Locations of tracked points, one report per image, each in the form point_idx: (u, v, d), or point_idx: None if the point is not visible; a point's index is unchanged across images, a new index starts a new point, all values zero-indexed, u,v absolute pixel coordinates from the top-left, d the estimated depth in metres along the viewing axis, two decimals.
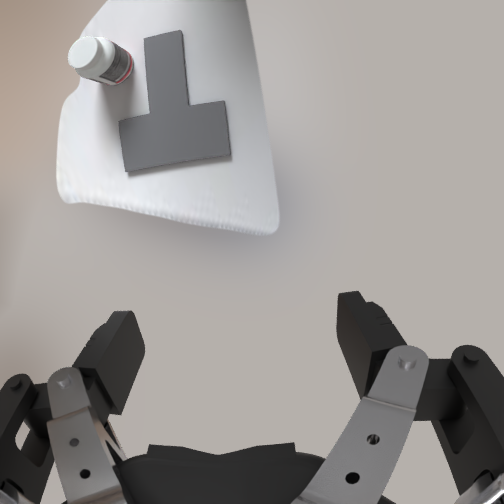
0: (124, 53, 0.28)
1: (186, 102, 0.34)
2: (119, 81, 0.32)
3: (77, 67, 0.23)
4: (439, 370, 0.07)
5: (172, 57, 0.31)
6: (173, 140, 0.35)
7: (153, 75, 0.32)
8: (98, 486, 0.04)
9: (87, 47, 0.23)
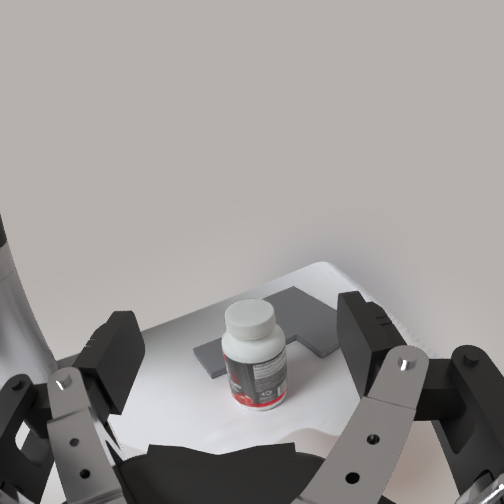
0: None
1: None
2: None
3: (272, 307, 0.24)
4: (439, 370, 0.07)
5: None
6: (308, 311, 0.38)
7: None
8: (98, 486, 0.04)
9: (241, 308, 0.24)
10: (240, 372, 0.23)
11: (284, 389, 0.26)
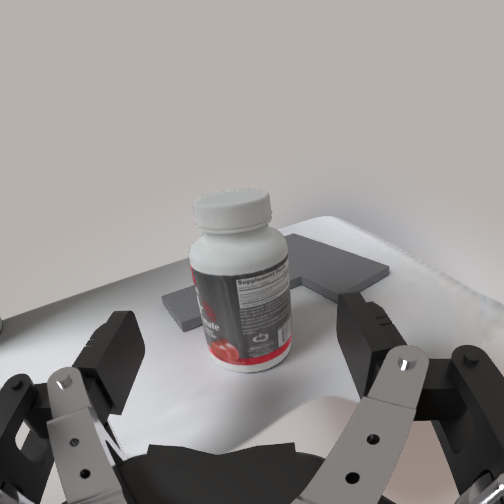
0: None
1: None
2: None
3: (265, 192, 0.16)
4: (439, 370, 0.07)
5: None
6: (314, 254, 0.30)
7: None
8: (98, 486, 0.04)
9: (219, 195, 0.16)
10: (217, 295, 0.15)
11: (288, 337, 0.17)
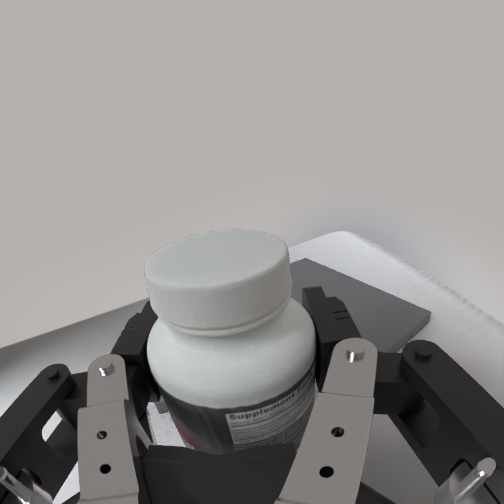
0: None
1: None
2: None
3: (280, 241, 0.08)
4: (391, 364, 0.07)
5: None
6: (335, 292, 0.23)
7: None
8: (116, 483, 0.04)
9: (195, 246, 0.09)
10: (194, 425, 0.08)
11: None
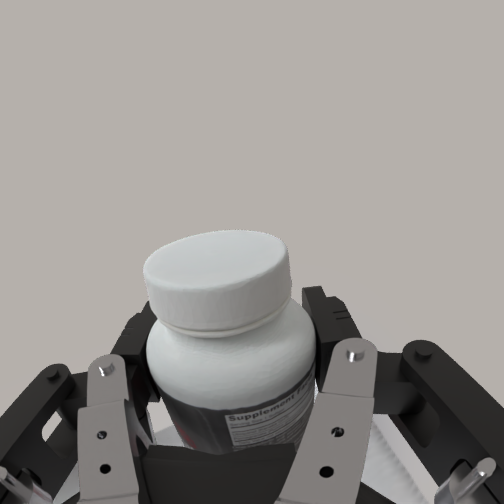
0: None
1: None
2: None
3: (280, 242, 0.08)
4: (391, 364, 0.07)
5: None
6: None
7: None
8: (115, 483, 0.04)
9: (194, 247, 0.09)
10: (193, 426, 0.08)
11: None
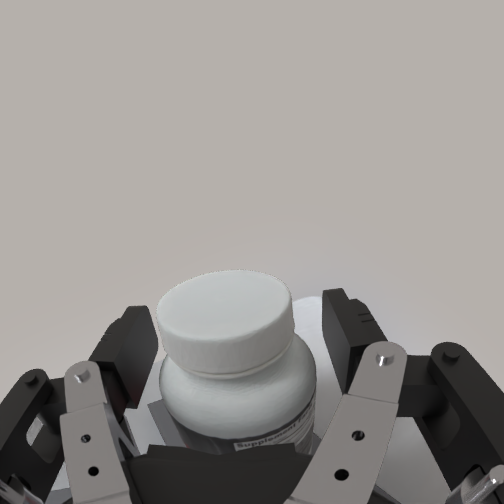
0: None
1: None
2: None
3: (284, 286, 0.09)
4: (419, 366, 0.07)
5: None
6: None
7: None
8: (105, 484, 0.04)
9: (203, 290, 0.09)
10: (204, 450, 0.08)
11: None
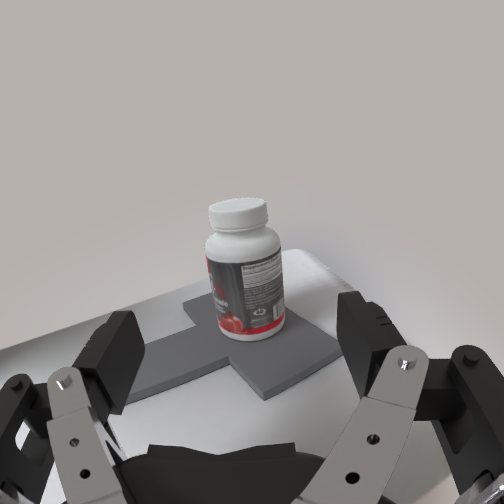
0: None
1: (195, 327, 0.24)
2: None
3: (263, 200, 0.21)
4: (439, 370, 0.07)
5: None
6: None
7: (157, 374, 0.19)
8: (98, 486, 0.04)
9: (228, 203, 0.21)
10: (226, 278, 0.20)
11: (281, 313, 0.22)
